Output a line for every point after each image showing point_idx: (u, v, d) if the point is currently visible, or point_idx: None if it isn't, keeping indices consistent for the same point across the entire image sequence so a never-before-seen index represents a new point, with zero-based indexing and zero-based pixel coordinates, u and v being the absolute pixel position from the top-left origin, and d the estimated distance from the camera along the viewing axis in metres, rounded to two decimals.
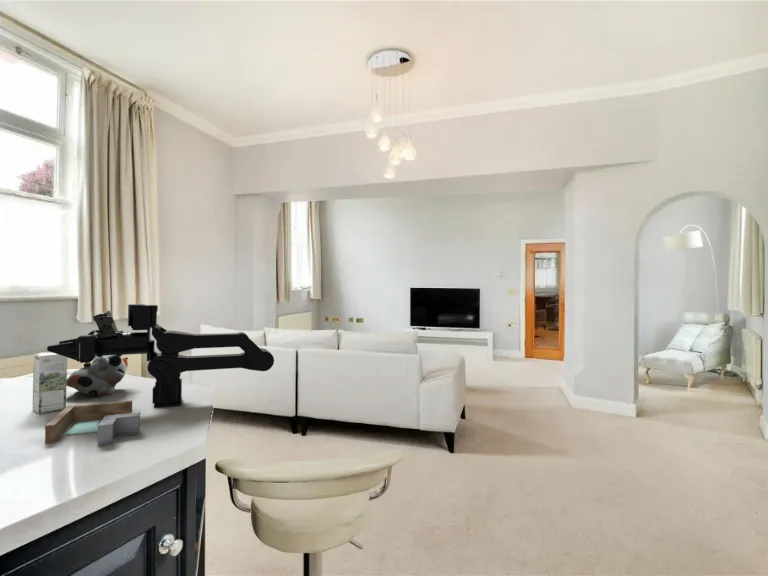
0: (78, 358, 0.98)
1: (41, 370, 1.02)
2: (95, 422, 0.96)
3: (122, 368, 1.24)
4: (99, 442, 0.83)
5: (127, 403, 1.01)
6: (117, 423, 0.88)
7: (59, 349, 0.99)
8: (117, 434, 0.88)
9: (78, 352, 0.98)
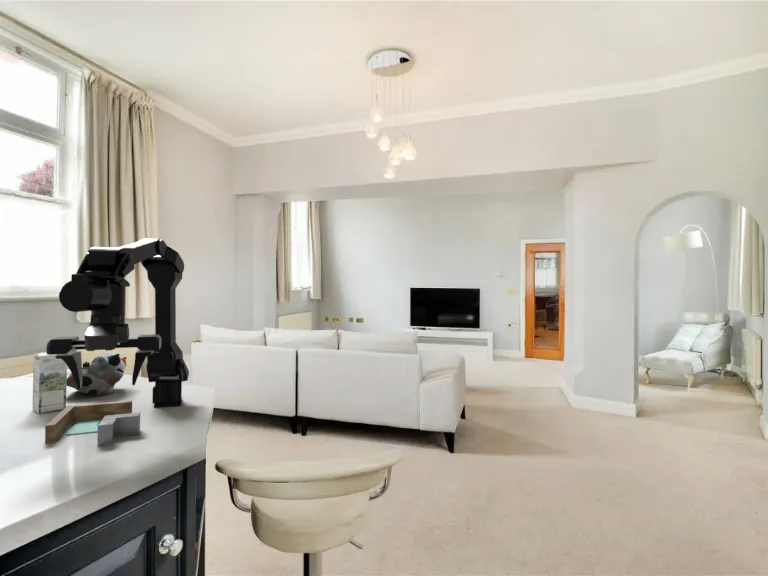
0: None
1: (41, 370, 1.02)
2: (95, 422, 0.96)
3: (121, 368, 1.24)
4: (99, 442, 0.83)
5: (127, 403, 1.01)
6: (117, 423, 0.88)
7: None
8: (117, 434, 0.88)
9: (153, 350, 0.89)
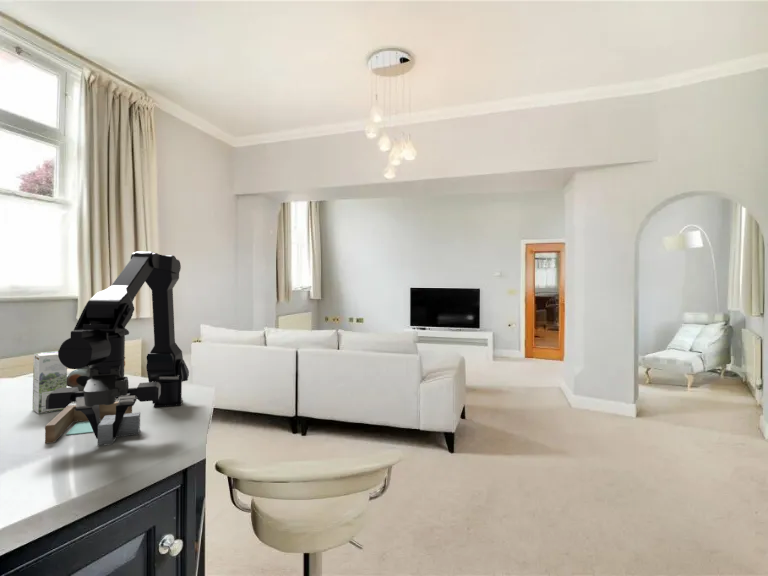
0: (135, 398, 0.89)
1: (41, 370, 1.02)
2: None
3: None
4: (99, 442, 0.83)
5: None
6: None
7: (120, 422, 0.86)
8: (117, 434, 0.88)
9: (135, 400, 0.87)
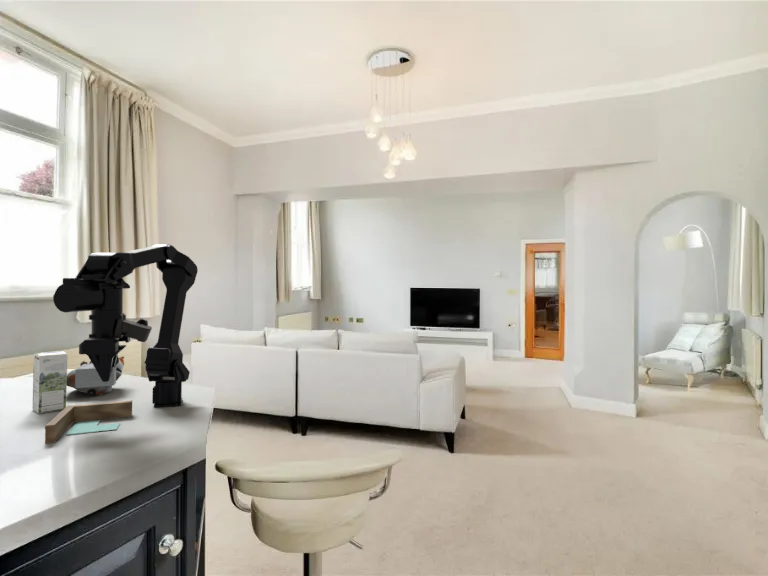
0: None
1: (41, 370, 1.02)
2: (95, 422, 0.96)
3: (120, 367, 1.25)
4: (114, 382, 0.92)
5: (127, 403, 1.01)
6: None
7: None
8: None
9: None
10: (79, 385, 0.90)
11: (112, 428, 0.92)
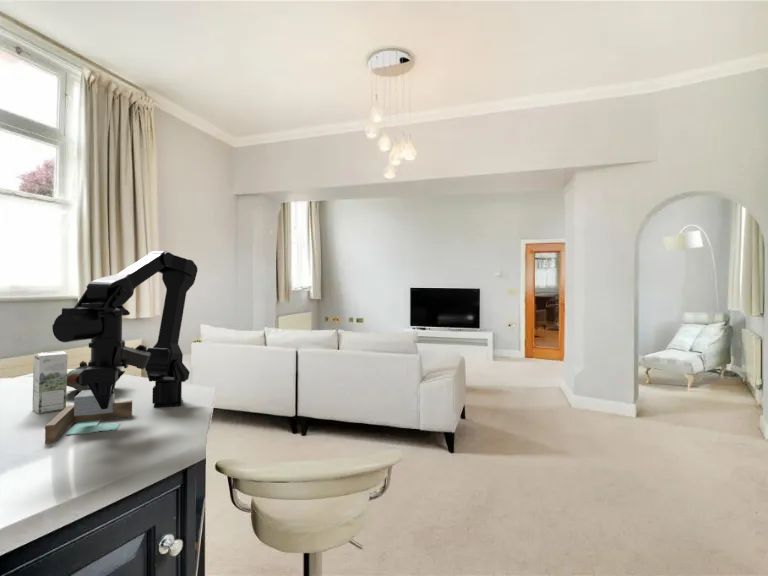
0: None
1: (41, 370, 1.02)
2: (95, 422, 0.96)
3: (119, 367, 1.26)
4: (112, 409, 0.93)
5: (127, 403, 1.01)
6: None
7: None
8: None
9: None
10: (77, 413, 0.90)
11: (112, 428, 0.92)
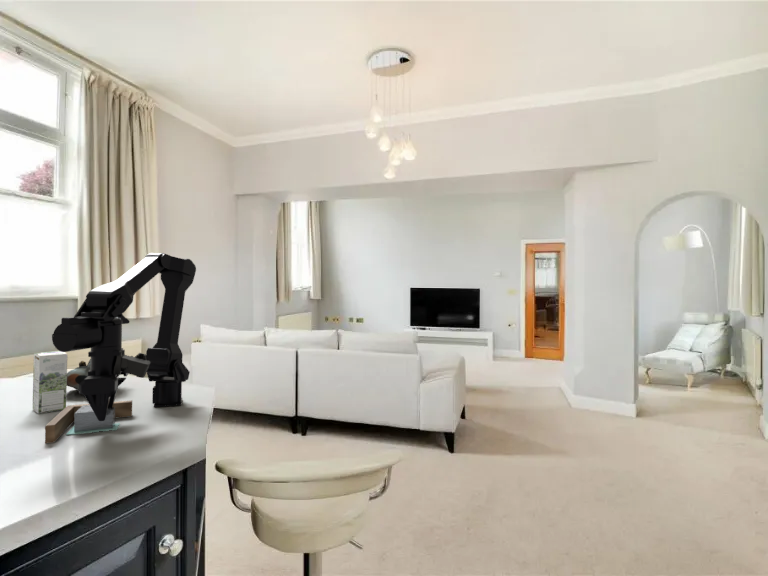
0: None
1: (41, 370, 1.02)
2: None
3: None
4: (112, 424, 0.93)
5: (127, 403, 1.01)
6: None
7: None
8: None
9: None
10: (77, 429, 0.90)
11: (112, 428, 0.92)
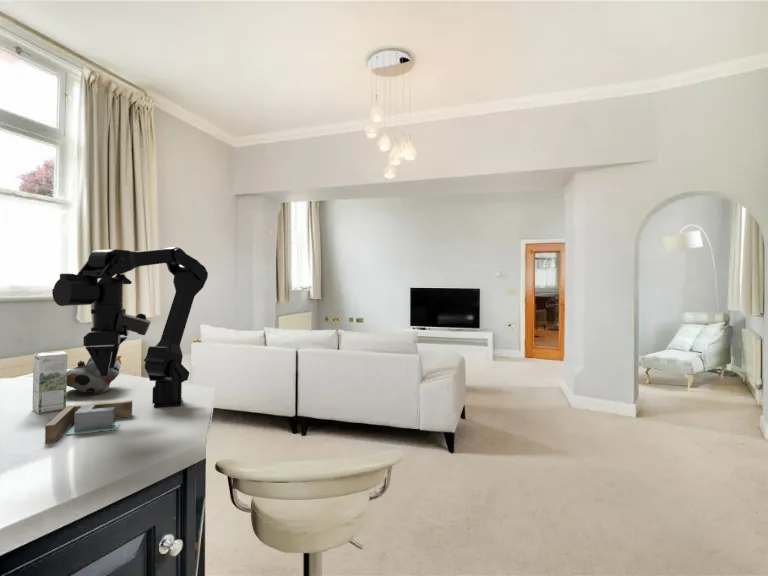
0: None
1: (41, 370, 1.02)
2: None
3: (117, 366, 1.26)
4: (112, 424, 0.93)
5: (127, 403, 1.01)
6: None
7: None
8: None
9: None
10: (77, 429, 0.90)
11: (112, 428, 0.92)
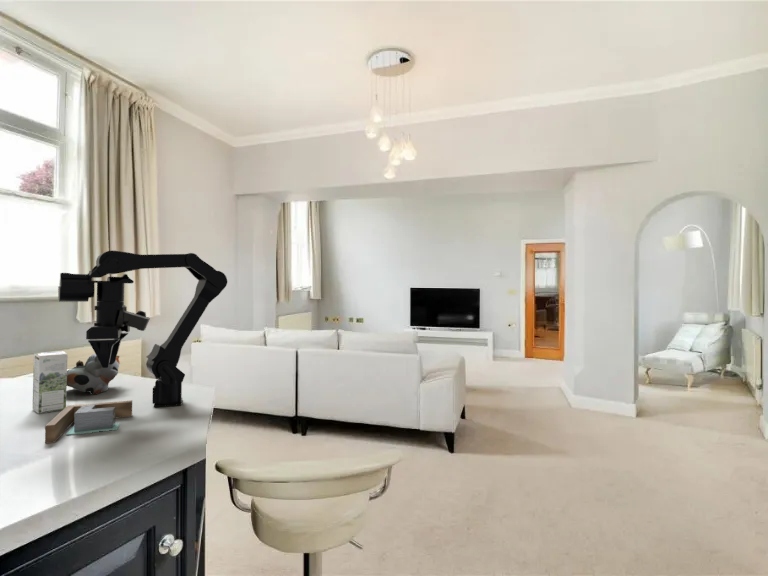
0: None
1: (41, 370, 1.02)
2: None
3: (116, 366, 1.27)
4: (112, 424, 0.93)
5: (127, 403, 1.01)
6: None
7: None
8: None
9: None
10: (77, 429, 0.90)
11: (112, 428, 0.92)
